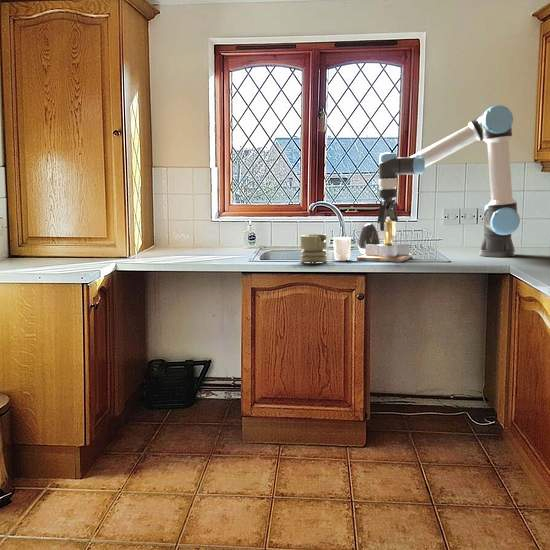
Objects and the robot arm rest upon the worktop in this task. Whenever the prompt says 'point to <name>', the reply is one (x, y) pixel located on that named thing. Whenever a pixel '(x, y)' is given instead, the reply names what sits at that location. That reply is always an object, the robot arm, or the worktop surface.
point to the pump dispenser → (368, 237)
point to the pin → (388, 233)
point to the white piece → (387, 250)
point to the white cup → (342, 248)
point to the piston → (313, 248)
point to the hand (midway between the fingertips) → (387, 237)
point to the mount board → (385, 258)
